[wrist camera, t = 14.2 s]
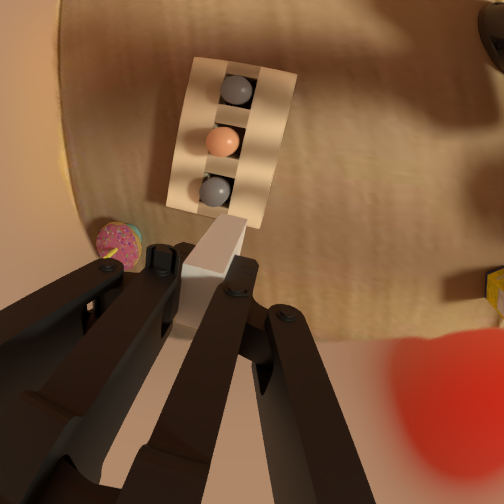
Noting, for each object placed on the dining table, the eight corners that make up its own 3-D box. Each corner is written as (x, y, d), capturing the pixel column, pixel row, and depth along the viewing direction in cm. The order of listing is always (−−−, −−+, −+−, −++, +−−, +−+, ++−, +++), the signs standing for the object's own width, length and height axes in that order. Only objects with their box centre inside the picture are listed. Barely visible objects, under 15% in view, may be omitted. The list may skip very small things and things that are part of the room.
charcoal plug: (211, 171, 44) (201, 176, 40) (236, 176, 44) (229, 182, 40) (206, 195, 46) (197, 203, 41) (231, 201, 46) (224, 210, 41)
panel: (203, 63, 40) (194, 56, 35) (296, 79, 39) (297, 74, 35) (177, 198, 49) (166, 206, 44) (262, 218, 48) (259, 229, 44)
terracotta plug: (218, 124, 40) (209, 124, 36) (245, 130, 40) (239, 130, 35) (212, 150, 42) (203, 154, 37) (239, 156, 42) (232, 160, 37)
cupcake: (134, 205, 50) (96, 228, 39) (160, 246, 52) (129, 278, 41) (102, 228, 53) (64, 254, 42) (127, 266, 55) (94, 298, 44)
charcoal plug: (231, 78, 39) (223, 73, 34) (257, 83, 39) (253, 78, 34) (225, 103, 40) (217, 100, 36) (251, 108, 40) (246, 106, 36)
